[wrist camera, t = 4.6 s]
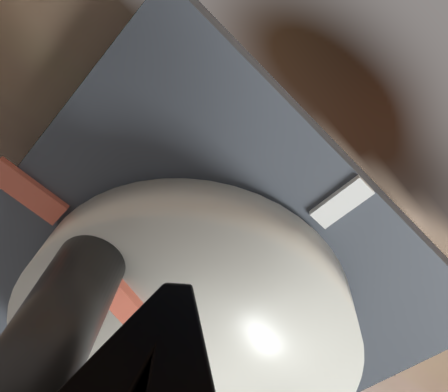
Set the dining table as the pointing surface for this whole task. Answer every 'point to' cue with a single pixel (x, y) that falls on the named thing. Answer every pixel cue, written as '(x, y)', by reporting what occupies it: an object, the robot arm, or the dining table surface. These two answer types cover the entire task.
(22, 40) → the dining table surface
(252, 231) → the dial
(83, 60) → the dining table surface
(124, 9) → the dining table surface
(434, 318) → the base plate
